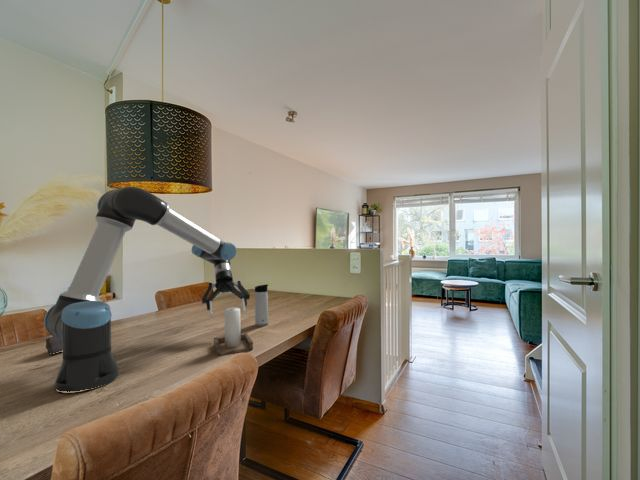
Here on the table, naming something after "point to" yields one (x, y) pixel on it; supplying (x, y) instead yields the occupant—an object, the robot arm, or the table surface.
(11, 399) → the table surface
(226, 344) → the paper roll
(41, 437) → the table surface
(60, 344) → the perforated stone tool
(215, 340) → the tray
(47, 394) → the table surface
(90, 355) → the robot arm
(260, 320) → the travel mug
